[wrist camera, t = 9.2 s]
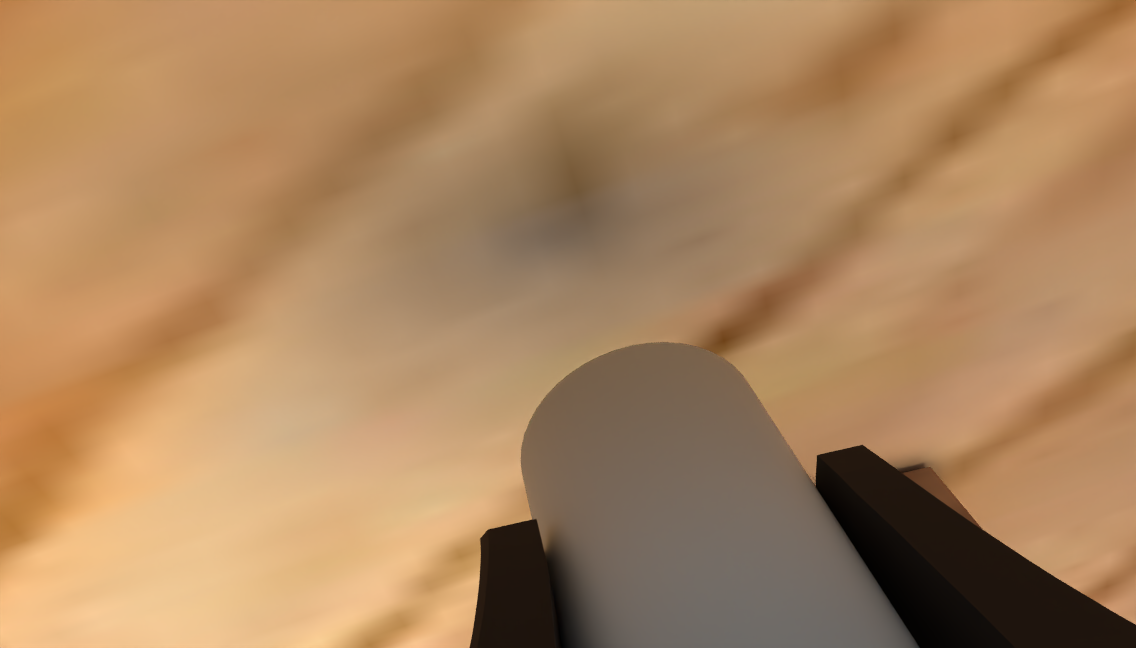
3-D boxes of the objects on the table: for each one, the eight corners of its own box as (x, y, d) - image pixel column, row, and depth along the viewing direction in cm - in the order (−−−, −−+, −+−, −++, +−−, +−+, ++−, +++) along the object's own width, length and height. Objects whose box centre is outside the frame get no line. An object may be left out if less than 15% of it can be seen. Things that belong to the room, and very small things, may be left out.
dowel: (759, 318, 12) (1138, 825, 6) (759, 508, 14) (1046, 1033, 8) (502, 372, 12) (636, 967, 6) (538, 559, 13) (667, 1147, 8)
